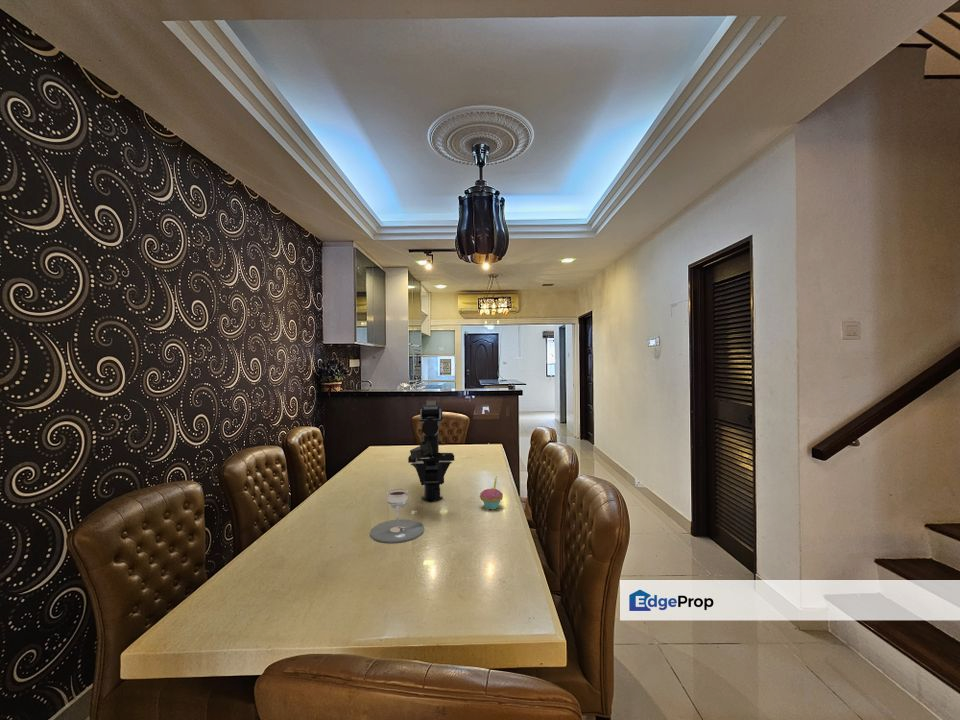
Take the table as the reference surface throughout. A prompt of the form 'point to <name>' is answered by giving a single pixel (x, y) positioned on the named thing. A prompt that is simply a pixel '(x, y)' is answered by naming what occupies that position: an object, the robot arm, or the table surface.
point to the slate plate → (386, 536)
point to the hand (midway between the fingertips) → (430, 482)
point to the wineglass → (397, 504)
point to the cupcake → (491, 497)
